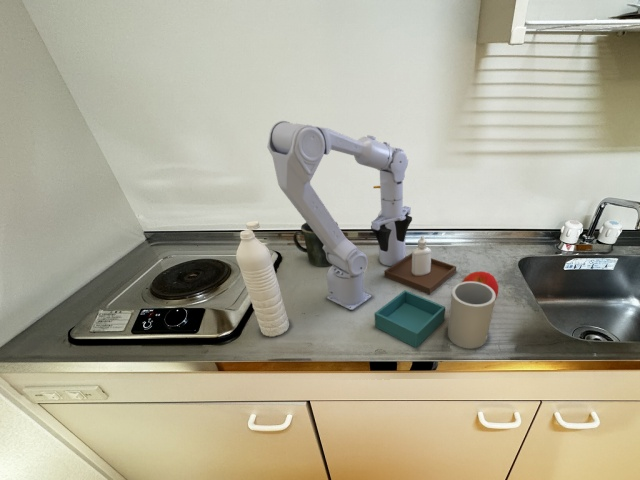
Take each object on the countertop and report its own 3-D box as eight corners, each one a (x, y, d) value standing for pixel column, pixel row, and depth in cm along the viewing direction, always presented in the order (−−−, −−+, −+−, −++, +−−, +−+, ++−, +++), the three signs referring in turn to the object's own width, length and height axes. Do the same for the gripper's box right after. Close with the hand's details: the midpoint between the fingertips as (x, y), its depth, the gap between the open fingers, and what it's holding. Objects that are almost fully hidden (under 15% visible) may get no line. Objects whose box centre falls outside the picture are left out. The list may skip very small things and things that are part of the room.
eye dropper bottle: (429, 277, 94) (431, 240, 87) (410, 275, 95) (411, 239, 88) (430, 270, 98) (432, 233, 91) (412, 268, 98) (413, 232, 91)
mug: (339, 268, 100) (334, 232, 93) (293, 267, 100) (285, 232, 93) (344, 252, 109) (340, 218, 102) (302, 252, 109) (295, 218, 102)
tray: (384, 276, 96) (384, 270, 94) (413, 257, 106) (413, 252, 104) (429, 294, 88) (429, 288, 87) (455, 272, 98) (456, 266, 96)
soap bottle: (379, 253, 108) (376, 181, 94) (406, 254, 107) (407, 182, 93) (374, 265, 101) (370, 190, 87) (403, 267, 100) (403, 191, 86)
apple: (488, 289, 85) (491, 258, 76) (501, 315, 79) (507, 285, 70) (455, 298, 85) (454, 268, 76) (466, 325, 80) (466, 296, 70)
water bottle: (286, 336, 74) (258, 237, 60) (258, 338, 74) (222, 239, 59) (293, 313, 81) (269, 220, 67) (267, 314, 81) (237, 221, 66)
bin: (375, 327, 77) (374, 313, 74) (404, 303, 85) (404, 290, 82) (416, 348, 71) (417, 333, 68) (444, 320, 79) (445, 306, 76)
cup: (447, 320, 78) (451, 280, 71) (484, 322, 77) (492, 282, 70) (448, 347, 71) (452, 305, 64) (489, 349, 70) (498, 307, 63)
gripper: (386, 208, 75) (387, 259, 83) (420, 193, 84) (418, 240, 92) (364, 202, 78) (367, 251, 86) (399, 188, 88) (399, 234, 96)
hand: (392, 245), depth 90 cm, fingers open, 7 cm apart
